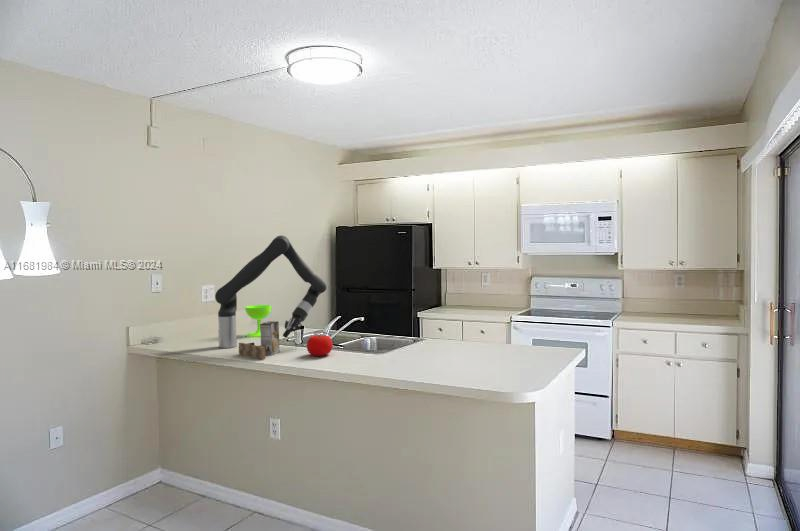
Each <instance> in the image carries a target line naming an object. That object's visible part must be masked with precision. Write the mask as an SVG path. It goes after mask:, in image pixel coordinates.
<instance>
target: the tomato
mask: <svg viewBox="0 0 800 531" xmlns="http://www.w3.org/2000/svg"><path fill="white" fill-rule="evenodd" d="M333 345H334V344H333V340H332V337H331V336H329V335H326V334H325V335H323V334H316V335H311V336H310V337H309V338H308V340H307V344H306V349H307V353H308V354H309V355H311V356H314V357H322V356H323V357H324V356H326V355H329V354H330V353H331V352H332V350H333Z"/></svg>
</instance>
